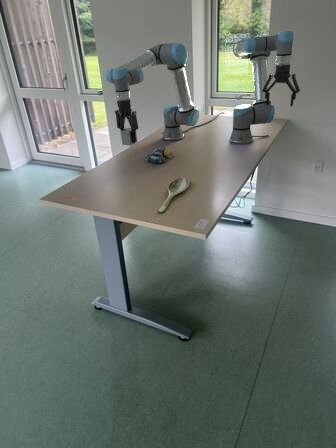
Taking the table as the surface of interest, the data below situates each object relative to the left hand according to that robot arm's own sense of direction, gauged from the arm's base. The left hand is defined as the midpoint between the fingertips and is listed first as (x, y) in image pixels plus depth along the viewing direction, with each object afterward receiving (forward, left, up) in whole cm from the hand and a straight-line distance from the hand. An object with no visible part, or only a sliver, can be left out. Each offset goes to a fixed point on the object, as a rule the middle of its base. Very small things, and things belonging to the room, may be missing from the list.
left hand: (129, 141), depth 193 cm
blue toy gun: (-21, -5, -17) cm, 28 cm away
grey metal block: (0, 0, -1) cm, 1 cm away
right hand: (-80, +35, +11) cm, 88 cm away
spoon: (-1, +46, -17) cm, 49 cm away
